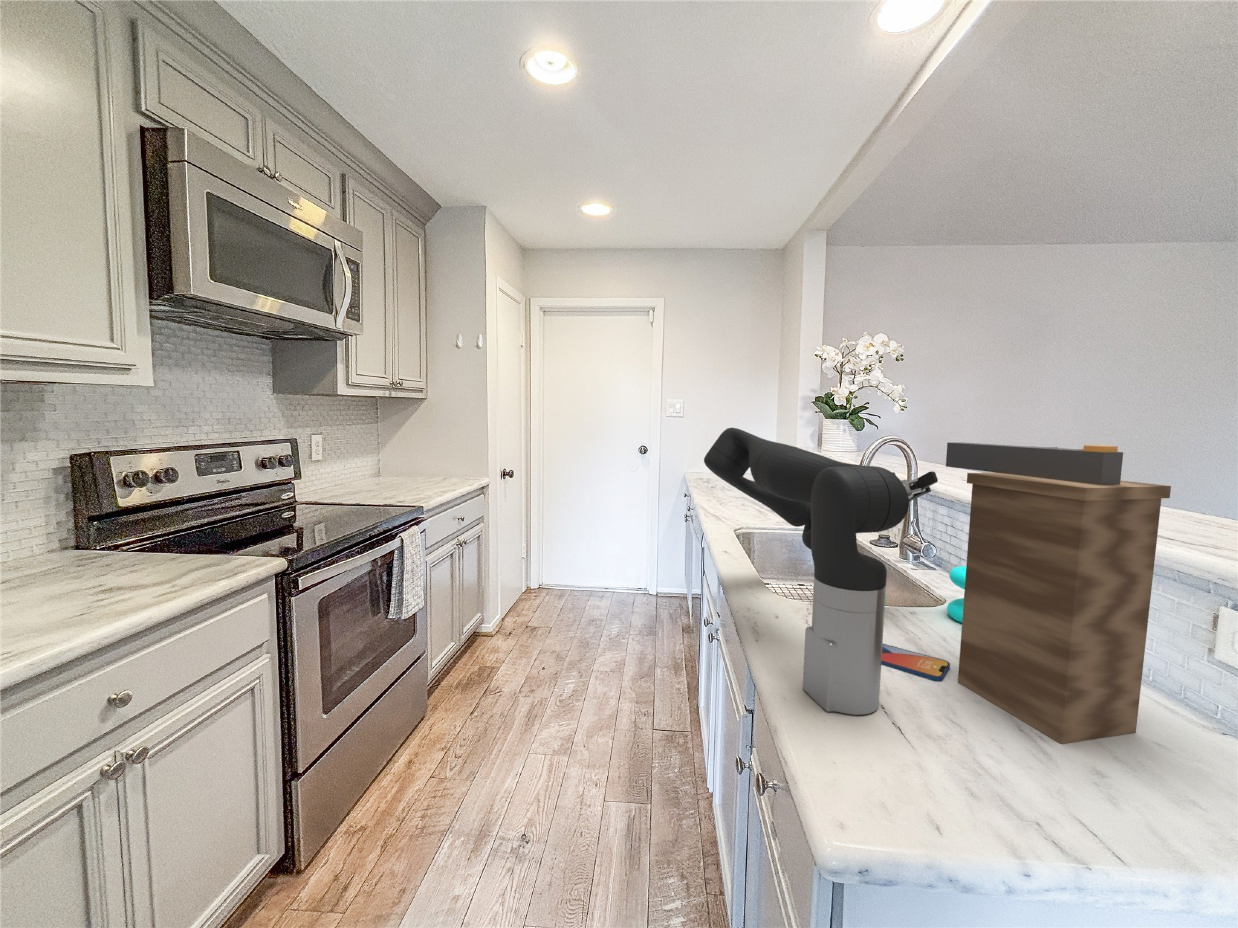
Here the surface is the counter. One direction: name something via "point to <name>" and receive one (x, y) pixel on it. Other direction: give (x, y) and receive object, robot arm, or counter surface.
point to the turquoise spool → (956, 605)
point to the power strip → (1041, 461)
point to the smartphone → (914, 663)
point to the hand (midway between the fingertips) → (915, 476)
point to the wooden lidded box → (1059, 600)
